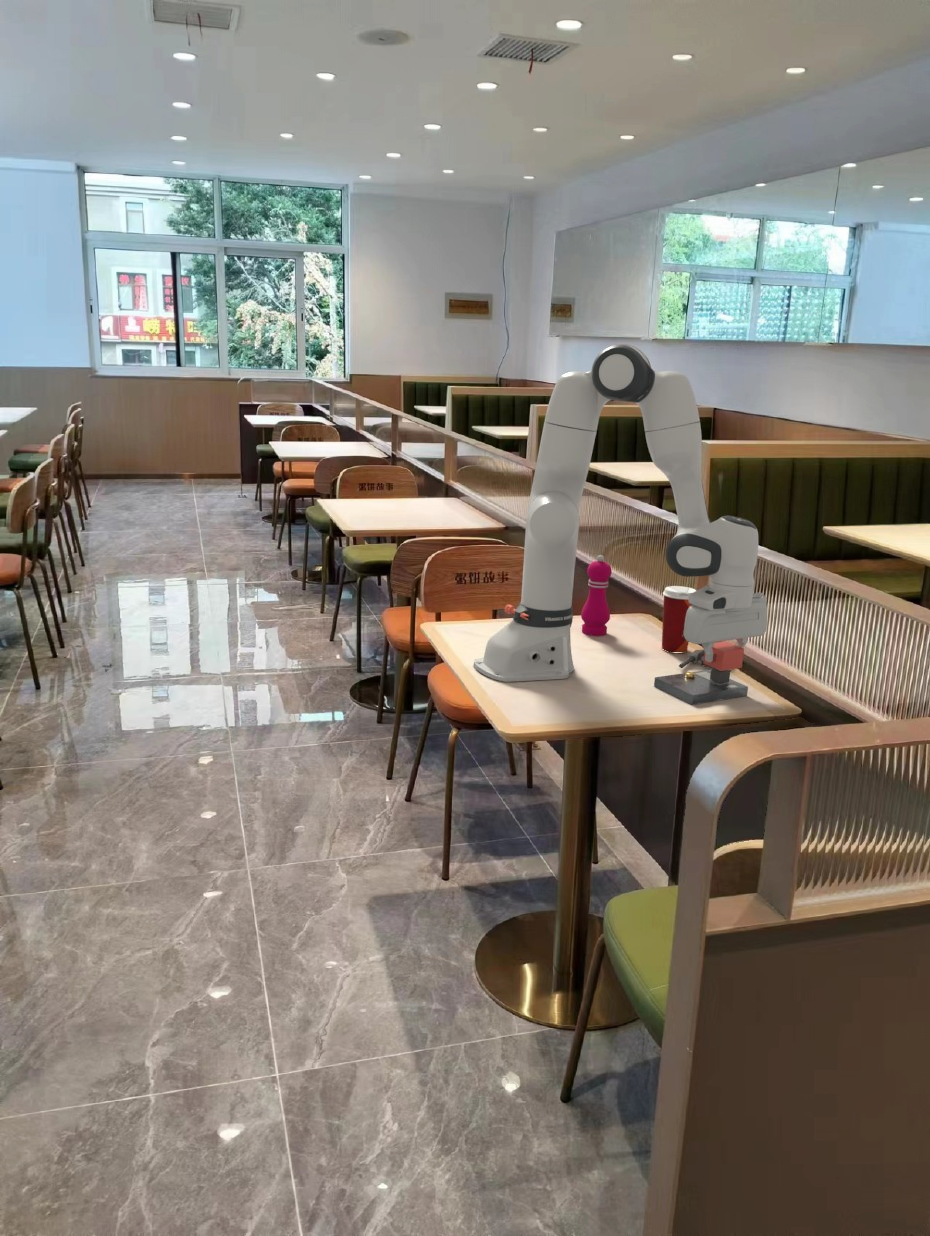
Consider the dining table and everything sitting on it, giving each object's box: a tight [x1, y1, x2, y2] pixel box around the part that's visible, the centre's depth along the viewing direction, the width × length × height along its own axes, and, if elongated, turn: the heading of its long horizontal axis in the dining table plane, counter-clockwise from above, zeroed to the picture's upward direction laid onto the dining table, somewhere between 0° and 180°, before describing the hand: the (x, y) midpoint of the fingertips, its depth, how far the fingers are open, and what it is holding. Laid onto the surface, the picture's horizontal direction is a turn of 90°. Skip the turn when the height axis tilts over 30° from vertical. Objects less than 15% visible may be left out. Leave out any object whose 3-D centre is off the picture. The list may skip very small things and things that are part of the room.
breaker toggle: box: [710, 667, 731, 683], centre depth 203 cm, size 3×3×3 cm
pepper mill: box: [580, 554, 612, 637], centre depth 240 cm, size 7×7×20 cm
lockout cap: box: [703, 641, 745, 671], centre depth 202 cm, size 6×6×4 cm
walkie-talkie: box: [678, 648, 714, 669], centre depth 222 cm, size 9×4×20 cm
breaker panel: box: [653, 669, 749, 705], centre depth 202 cm, size 15×12×3 cm
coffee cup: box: [661, 585, 697, 653], centre depth 230 cm, size 8×8×15 cm
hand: (722, 659), depth 202 cm, fingers closed on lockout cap, 6 cm apart
